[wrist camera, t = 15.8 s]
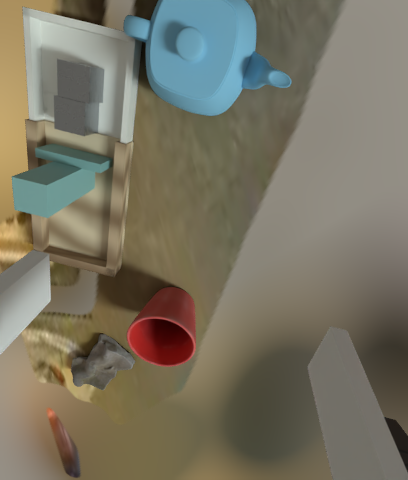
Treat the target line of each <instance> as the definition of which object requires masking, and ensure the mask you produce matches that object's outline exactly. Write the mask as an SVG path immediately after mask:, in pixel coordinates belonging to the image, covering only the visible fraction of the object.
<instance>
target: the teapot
mask: <svg viewBox="0 0 408 480" xmlns="http://www.w3.org/2000/svg"><path fill="white" fill-rule="evenodd" d="M124 32H125V34H126V35H128V36H130V37H132V38H135V39H137V40H140V41H143V42H145V43H146V70H147V77H148V80H149V83H150V85H151V87H152V89H153V91H154V92H155V93H156V94H157V95H158V96H159V97H160V98H161V99H163V100H165V101H166V102H168V103H170V104H172V105H174V106H176V107H178V108H180V109H183V110H185V111H189V112H192V113H196V114H201V115H207V116H215V115H218V114H221V113H223V112H225V111H226V110H227V109H228V108H229V107H230V106H231V105H232V104H233V103H234V102H235V100H236V99H237V97H238V96H239V94H240V93H241V91H242V89H243V88H246V89H258V88H261V87H262V86H264V85H266V84H268V85H272V86H275V87H280V88H285V87H288V86H290V85H291V79H290V77H289V76H288V75H287V74H285V73H284V72H282V71H280V70H277V69H275V68H273V67H271V65H270V63H269V62H268V61H267V59H265V58H264V57H263V56H261V55H259V54H258V53H256V52H255V47H256V21H255V16H254V13H253V11H252V9H251V7H250V6H249V4H248V3H247V2H246V1H245V0H158V2H157V5H156V7H155V9H154V12H153V14H152V17H151V20H150V21H149V20H146V19H143V18H140V17H136V16H132V15H128V16H126V18H125V20H124Z"/></svg>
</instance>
